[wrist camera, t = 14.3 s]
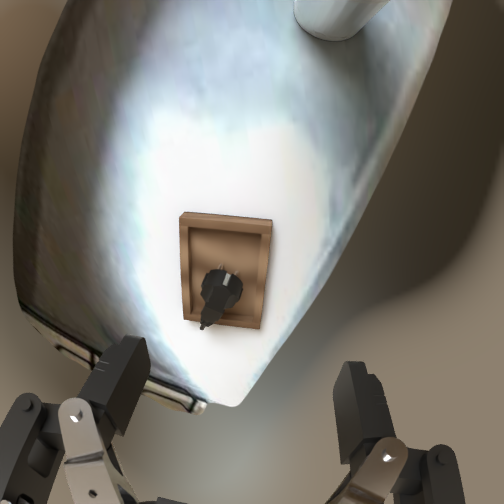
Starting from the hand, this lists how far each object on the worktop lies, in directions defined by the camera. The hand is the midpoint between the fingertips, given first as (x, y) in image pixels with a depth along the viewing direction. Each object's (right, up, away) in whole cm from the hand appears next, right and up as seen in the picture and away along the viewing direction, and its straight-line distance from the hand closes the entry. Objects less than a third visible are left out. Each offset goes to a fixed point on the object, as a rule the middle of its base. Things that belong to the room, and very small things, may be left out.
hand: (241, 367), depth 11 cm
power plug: (-5, -2, +33) cm, 34 cm away
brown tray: (-4, +2, +33) cm, 33 cm away
